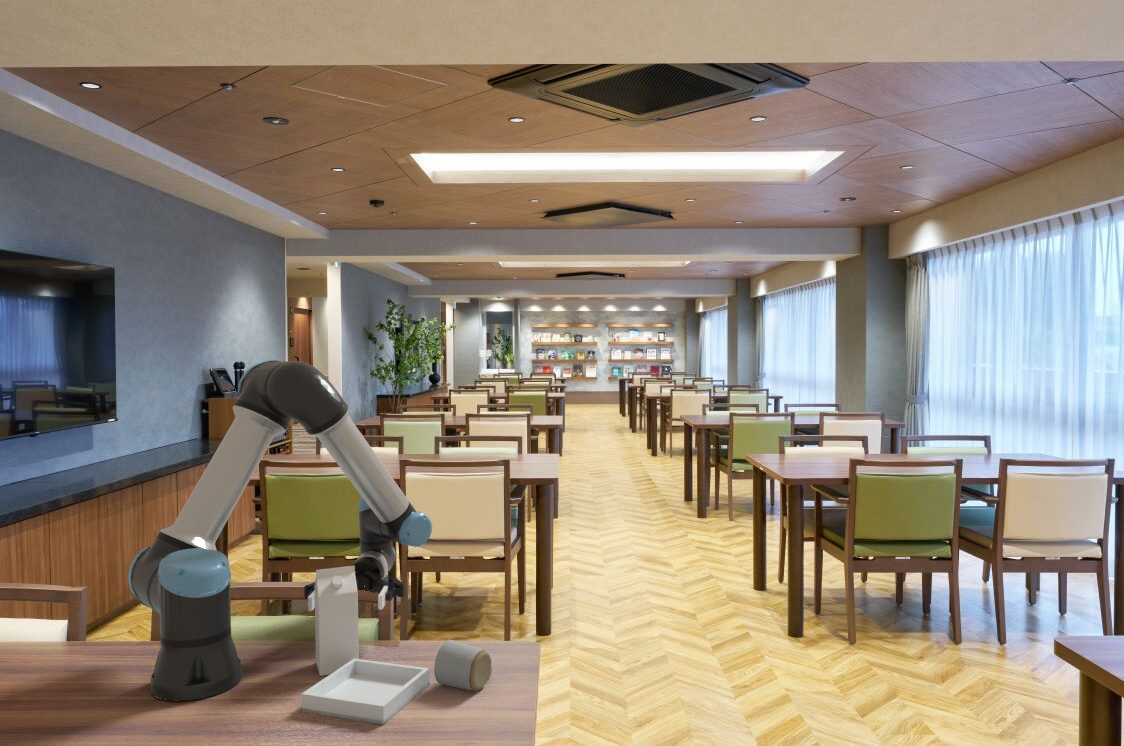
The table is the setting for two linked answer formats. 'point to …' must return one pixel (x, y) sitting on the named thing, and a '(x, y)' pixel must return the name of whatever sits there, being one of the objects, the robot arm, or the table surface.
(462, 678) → the ceramic mug
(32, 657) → the table surface
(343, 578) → the milk carton
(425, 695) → the table surface
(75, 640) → the table surface
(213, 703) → the table surface
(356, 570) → the robot arm
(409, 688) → the tray
